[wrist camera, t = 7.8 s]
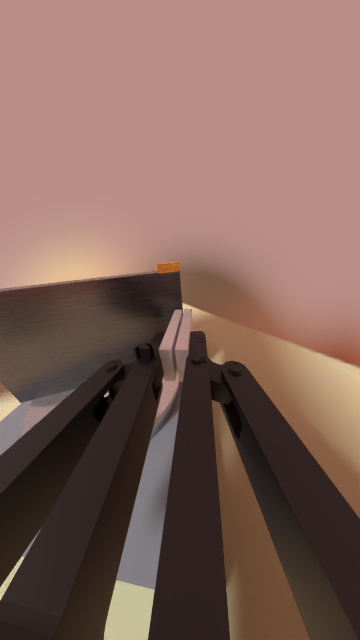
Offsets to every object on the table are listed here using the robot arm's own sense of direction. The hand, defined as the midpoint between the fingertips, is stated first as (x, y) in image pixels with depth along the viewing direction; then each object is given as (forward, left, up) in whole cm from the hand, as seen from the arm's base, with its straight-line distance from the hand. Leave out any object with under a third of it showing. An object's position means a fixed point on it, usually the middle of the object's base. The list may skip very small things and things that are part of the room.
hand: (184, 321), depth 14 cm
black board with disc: (-9, -2, -8) cm, 12 cm away
